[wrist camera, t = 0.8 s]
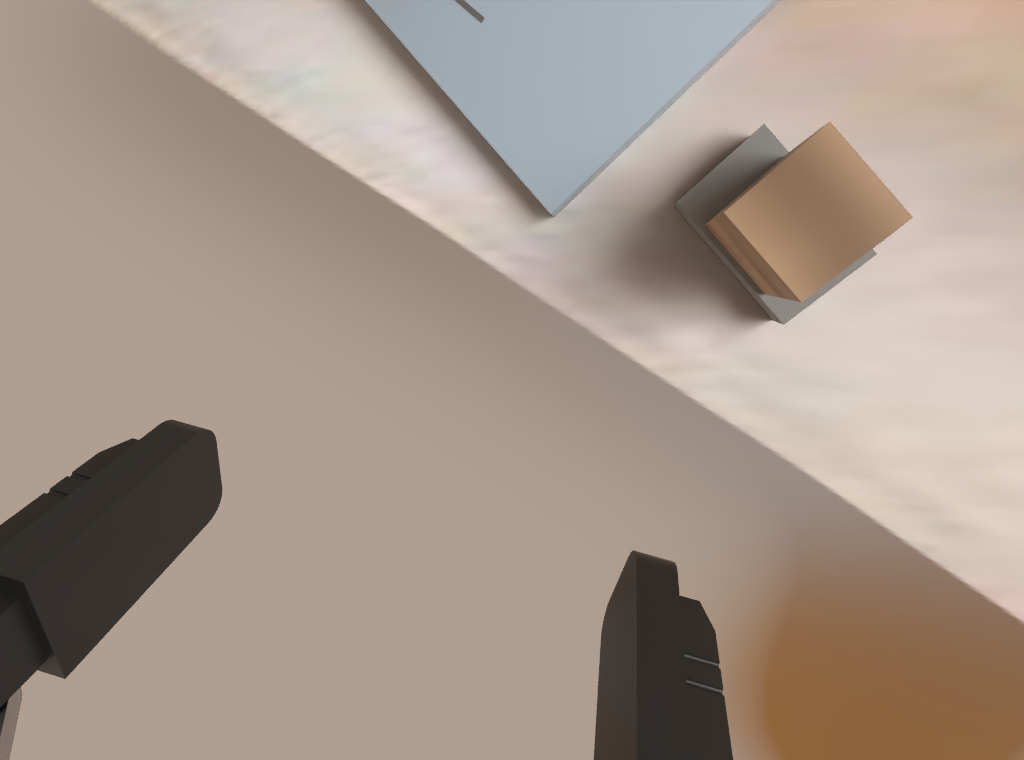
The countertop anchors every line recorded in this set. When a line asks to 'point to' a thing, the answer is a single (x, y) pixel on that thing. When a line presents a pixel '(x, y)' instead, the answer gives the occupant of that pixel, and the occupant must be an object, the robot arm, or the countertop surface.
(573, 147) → the board
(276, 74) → the countertop surface
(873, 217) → the block
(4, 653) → the robot arm
